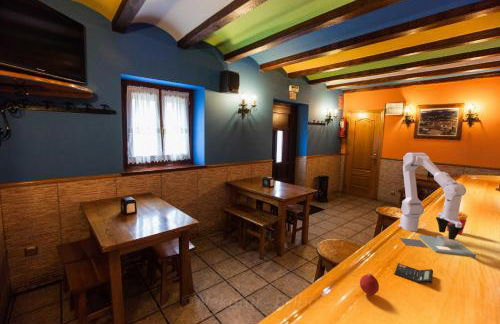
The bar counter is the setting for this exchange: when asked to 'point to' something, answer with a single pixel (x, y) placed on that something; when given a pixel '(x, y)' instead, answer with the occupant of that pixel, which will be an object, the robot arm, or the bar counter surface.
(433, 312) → the bar counter surface
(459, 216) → the french fries
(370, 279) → the onion
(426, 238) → the hole plate
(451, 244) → the tan cubic block
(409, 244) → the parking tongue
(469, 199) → the bar counter surface
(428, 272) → the calculator
